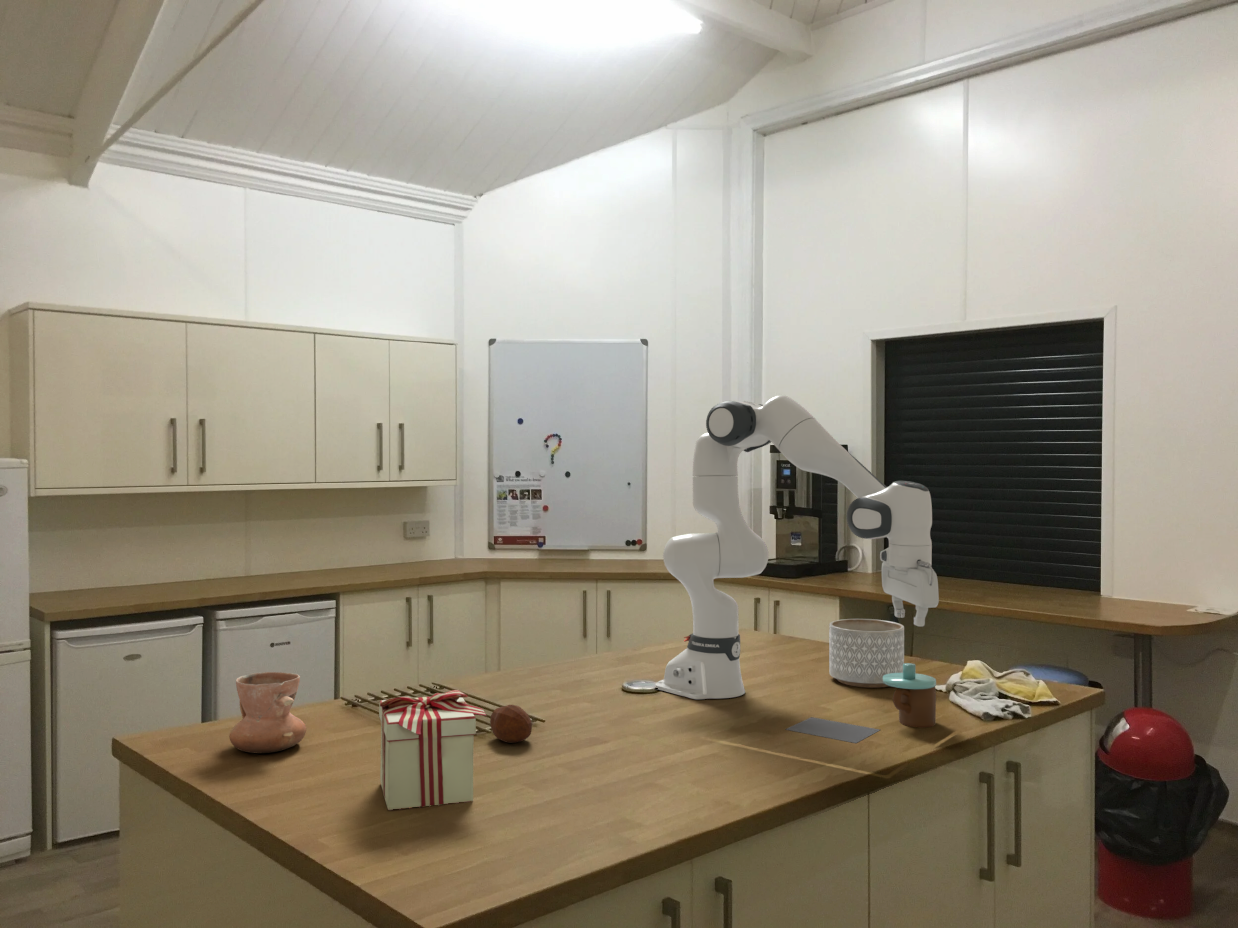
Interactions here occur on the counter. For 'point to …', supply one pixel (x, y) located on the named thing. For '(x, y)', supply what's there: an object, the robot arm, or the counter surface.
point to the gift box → (427, 749)
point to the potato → (511, 724)
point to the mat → (833, 730)
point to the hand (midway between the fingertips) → (909, 621)
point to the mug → (916, 706)
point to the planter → (865, 651)
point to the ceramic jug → (267, 713)
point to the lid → (909, 679)
